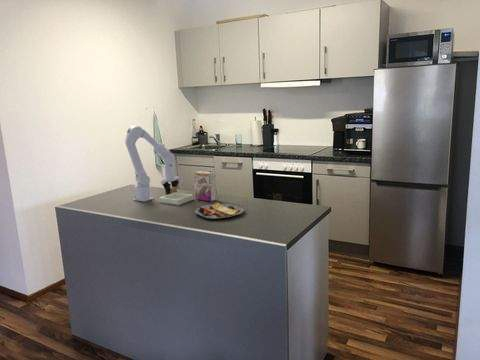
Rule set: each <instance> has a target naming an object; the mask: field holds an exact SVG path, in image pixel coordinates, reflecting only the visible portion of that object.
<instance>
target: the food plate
mask: <svg viewBox="0 0 480 360" xmlns="http://www.w3.org/2000/svg"><path fill="white" fill-rule="evenodd" d="M244 211H245V210H244V208H243V207H241V205H237V204H230V203H219V201H216V202H214V203H210V204H206V205H202V206H201V205H200V206H198V207H197V208H196V209H194V214H196V215H199V216H201V217H202V218H206V219H225V218H231V217H234V216H237V215H241V214H242V213H243V212H244Z"/></svg>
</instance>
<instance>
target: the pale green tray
mask: <svg viewBox="0 0 480 360" xmlns="http://www.w3.org/2000/svg"><path fill="white" fill-rule="evenodd" d="M193 200H194V194H191V193H189V194H188V193H183V192H178V191H177V192H175V193H171V194H168V195H166V194H165V195H162V196H160V197H158V202H159V204H165V205H172V206H180V205H182V204H185V203H188V202H191V201H193Z"/></svg>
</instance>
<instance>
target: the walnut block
mask: <svg viewBox="0 0 480 360" xmlns="http://www.w3.org/2000/svg"><path fill="white" fill-rule="evenodd" d="M175 192H177V193H178V186H177V187H172V185H171V186H170V194H171V193H175ZM165 195H168V194H167V193H166V191H165Z"/></svg>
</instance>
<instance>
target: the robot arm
mask: <svg viewBox="0 0 480 360" xmlns="http://www.w3.org/2000/svg"><path fill="white" fill-rule="evenodd" d="M125 136H126V138H125V142H124V144H125V146H126V148H127V151H128V154H129V157H130V160H131V163H132V166H133V169H134V173H135V181H136V183H137V184H135V185H134V187H133V199H132V200H133V201H138V202H149V201H150V200H153V199H154V197H151V189H150V188H151V187H150V186H151V185H150V184H151V183H150V182H151V177H150V176H149V175H148V174H147V172H146V170H145V169H144V168H145V167H144V166H143V165H144V164H143V163H142V160H141V157H140V154H139V151H138V148H137V145H136V143H137V142H138V140H139V139H140V138H142V139H145V140H146V142H147V143H149V144H150V145H151V146H152V147H153V149H154V152H156V153H157V154H158V155H159V156H160V157H161V158H162V160H164V176H165V178H164V179H162V180H161V181H160V184H161V186H163V188H164V190H165V191H166V193H167V194H170V186H172V187H177V188H178V185H179V183H180V181H179V180H180V176H176V175H175V174H176V172H175V159H176V157H175V155H174V153H172V152H171V150H170V149H168V148H167V147H165V144H164V143H161V142H158V141H157V140H155V139H154V137H152V135H151V134H149V132H147V131H146V130H145V129H143V128H142V127H141V126H139V125H130V127H129V128H128V129H127V131H126V135H125ZM166 193H165V194H166Z"/></svg>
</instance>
